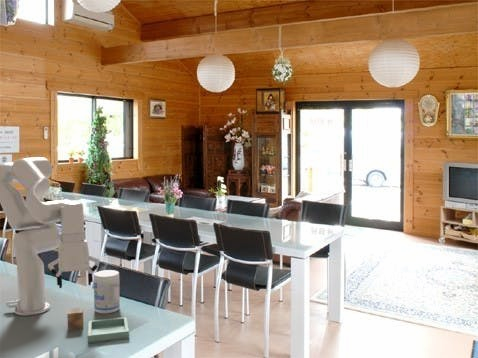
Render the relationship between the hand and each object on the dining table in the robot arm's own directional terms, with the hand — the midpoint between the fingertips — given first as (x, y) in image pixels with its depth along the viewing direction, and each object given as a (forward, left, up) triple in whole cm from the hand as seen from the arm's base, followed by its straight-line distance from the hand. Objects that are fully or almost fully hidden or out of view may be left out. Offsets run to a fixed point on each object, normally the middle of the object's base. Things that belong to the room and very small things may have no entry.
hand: (75, 285), depth 166 cm
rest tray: (+11, -9, -15) cm, 20 cm away
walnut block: (0, 0, -15) cm, 15 cm away
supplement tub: (+11, +14, -15) cm, 24 cm away
